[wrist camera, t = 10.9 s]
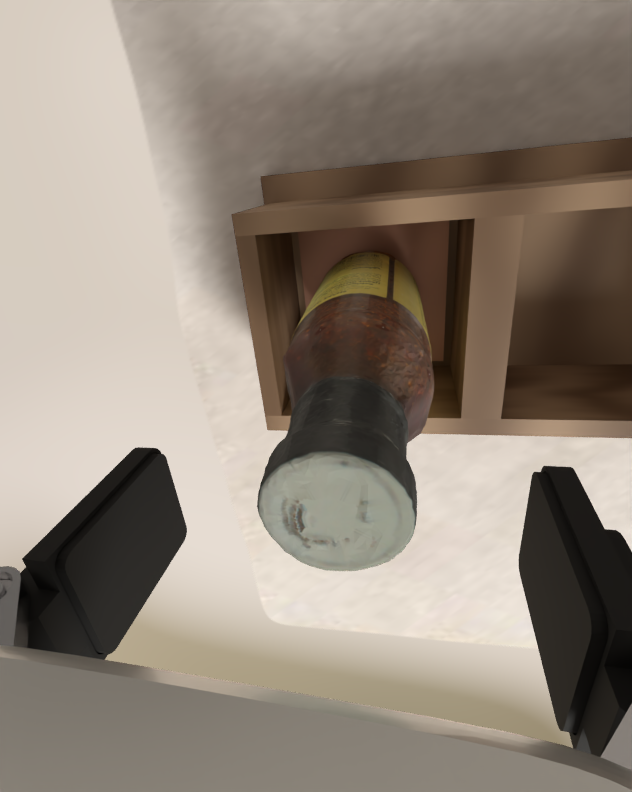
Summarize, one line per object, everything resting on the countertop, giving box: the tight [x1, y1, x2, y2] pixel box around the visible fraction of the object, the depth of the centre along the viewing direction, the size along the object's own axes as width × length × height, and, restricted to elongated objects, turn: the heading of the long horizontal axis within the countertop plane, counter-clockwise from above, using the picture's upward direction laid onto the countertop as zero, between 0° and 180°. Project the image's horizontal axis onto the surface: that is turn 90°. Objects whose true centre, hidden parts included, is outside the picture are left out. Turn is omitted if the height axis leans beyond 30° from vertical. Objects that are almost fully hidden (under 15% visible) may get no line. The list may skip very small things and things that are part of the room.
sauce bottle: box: [257, 250, 434, 571], centre depth 19 cm, size 7×6×20 cm
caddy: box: [232, 138, 632, 438], centre depth 24 cm, size 25×15×8 cm, turn 95°
